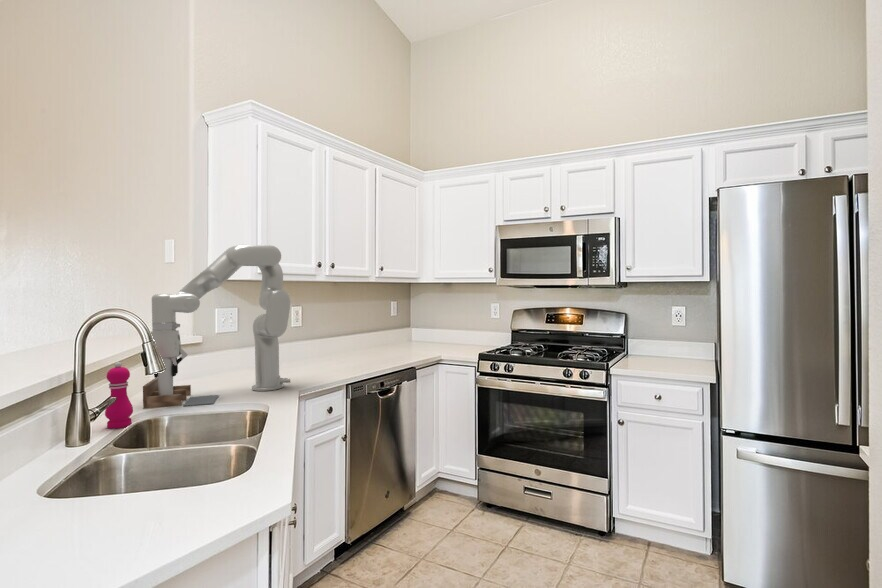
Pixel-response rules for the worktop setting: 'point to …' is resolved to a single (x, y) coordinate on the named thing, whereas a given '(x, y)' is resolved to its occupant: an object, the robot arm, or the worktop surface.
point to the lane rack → (156, 401)
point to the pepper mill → (119, 398)
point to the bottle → (166, 378)
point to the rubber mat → (201, 400)
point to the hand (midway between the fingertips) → (165, 375)
